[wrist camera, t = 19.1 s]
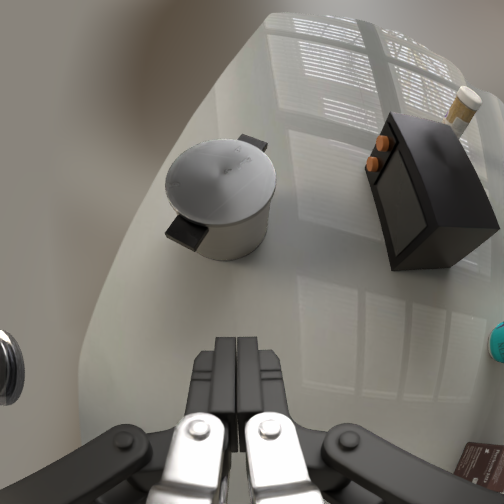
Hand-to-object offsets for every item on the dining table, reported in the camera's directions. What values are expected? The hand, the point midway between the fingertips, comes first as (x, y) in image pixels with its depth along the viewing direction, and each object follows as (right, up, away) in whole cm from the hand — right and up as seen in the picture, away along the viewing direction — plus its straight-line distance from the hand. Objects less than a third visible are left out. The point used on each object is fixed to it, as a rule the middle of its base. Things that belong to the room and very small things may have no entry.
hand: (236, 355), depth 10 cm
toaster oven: (+22, +9, +25) cm, 35 cm away
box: (+29, -24, +11) cm, 39 cm away
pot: (-3, +7, +24) cm, 25 cm away
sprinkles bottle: (+36, +23, +33) cm, 54 cm away
